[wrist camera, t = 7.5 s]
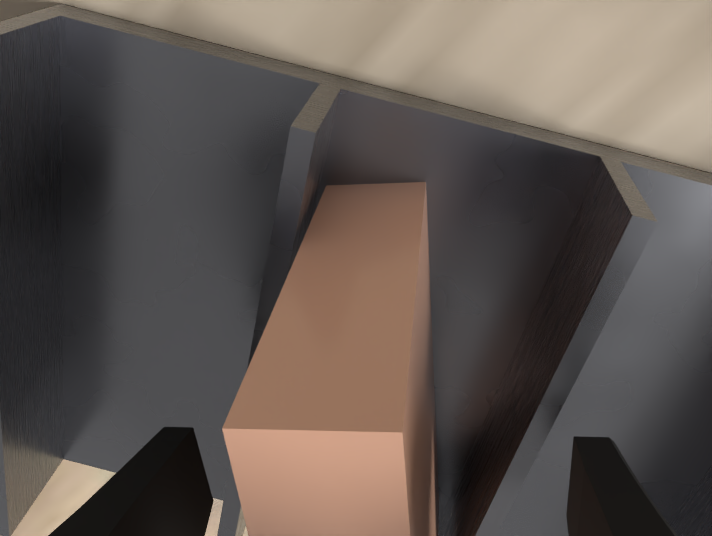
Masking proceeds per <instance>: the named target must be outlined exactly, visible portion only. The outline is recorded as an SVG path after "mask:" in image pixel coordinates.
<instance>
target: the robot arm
mask: <svg viewBox="0 0 712 536" xmlns="http://www.w3.org/2000/svg"><path fill="white" fill-rule="evenodd" d="M212 504H213V497H212V494H211V490H210V486H209V483H208V479H207V476H206V472H205V468H204V465H203V461H202V457H201V454H200V450H199V446H198V443H197V439H196V435H195V432H194V428H193V427H163V428H162V429H161V430H160V431H159V432H158V433H157V434H156V435H155V436H154V437H153V438H152V439H151V440H150V441H149V442H148V443H147V444H146V445H145V446H144V447H143V448H142V449H141V450H139V451H138V452H137V453H136V454H135V455H134V456H133V457H132V458H131V459H130V460H129V461H128V462H127V463H126V464H125V465H124V466H123V467H122V468H121V469H120V470H119V471H118V472H117V473H116V474H115V475H114V476H113V477H112V478H111V479H110V480H109V481H108V482H107V483H106V484H105V485H104V486H102V487H101V488H100V489H99V490H98V491H97V492H96V493H95V494H94V495H93V496H92V497H91V498H90V499H89V500H88V501H87V502H86V503H85V504H83V505H82V506H81V507H80V508H79V509H78V510H77V511H76V512H75V513H73V514H72V515H71V516H70V517H69V518H68V519H67V520H66V521H64V522H63V523H62V524H61V525H60V526H59V527H58V528H56V529H55V530H54V531H53V532H52V533H51V534H50V535H48V536H204V535H205V532H206V528H207V524H208V520H209V516H210V512H211V508H212ZM566 518H567V526H568V534H569V536H677V534H676V533H675V532H674V530H673V529H672V528H671V526H670V525H669V524H668V522H667V521H666V519H665V518H664V517H663V515H662V514H661V513H660V511H659V510H658V508H657V507H656V506H655V504H654V503H653V501H652V500H651V499H650V497H649V496H648V494H647V493H646V491H645V490H644V488H643V487H642V485H641V484H640V482H639V481H638V479H637V478H636V476H635V475H634V473H633V472H632V470H631V468H630V467H629V465H628V464H627V462H626V460H625V459H624V457H623V455H622V454H621V452H620V450H619V449H618V447H617V445H616V444H615V442H614V441H613V440H612V439H611V438H609V437H580V436H574V437H573V448H572V459H571V469H570V480H569V491H568V501H567V512H566Z"/></svg>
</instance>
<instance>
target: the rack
mask: <svg viewBox="0 0 712 536" xmlns="http://www.w3.org/2000/svg"><path fill="white" fill-rule="evenodd" d="M409 182H426V194H427V219H428V243H429V267H430V292H431V316H432V340H433V365H434V389H435V414H436V438H437V462H438V487H439V530H438V536H569V534H568V526H567V518H566V512H567V501H568V491H569V480H570V469H571V459H572V448H573V437H574V436H580V437H609V438H611V439H612V440H613V441H614V442H615V444H616V445H617V447H618V449H619V450H620V452H621V454H622V455H623V457H624V459H625V460H626V462H627V464H628V465H629V467H630V468H631V470H632V472H633V473H634V475H635V476H636V478H637V479H638V481H639V482H640V484H641V485H642V487H643V488H644V490H645V491H646V493H647V494H648V496H649V497H650V499H651V500H652V501H653V503H654V504H655V506H656V507H657V508H658V510H659V511H660V513H661V514H662V515H663V517H664V518H665V519H666V521H667V522H668V524H669V525H670V526H671V528H672V529H673V530H674V532H675V533H676V534H677V536H712V173H708V172H704V171H700V170H697V169H693V168H689V167H685V166H681V165H677V164H674V163H670V162H666V161H662V160H658V159H654V158H651V157H647V156H643V155H639V154H635V153H631V152H628V151H624V150H620V149H616V148H612V147H608V146H605V145H601V144H597V143H593V142H589V141H585V140H582V139H578V138H574V137H570V136H566V135H562V134H559V133H555V132H551V131H547V130H543V129H539V128H536V127H532V126H528V125H524V124H520V123H516V122H513V121H509V120H505V119H501V118H497V117H493V116H490V115H486V114H482V113H478V112H474V111H470V110H467V109H463V108H459V107H455V106H451V105H447V104H444V103H440V102H436V101H432V100H428V99H424V98H421V97H417V96H413V95H409V94H405V93H402V92H398V91H394V90H390V89H386V88H382V87H379V86H375V85H371V84H367V83H363V82H359V81H356V80H352V79H348V78H344V77H340V76H336V75H333V74H329V73H325V72H321V71H317V70H313V69H310V68H306V67H302V66H298V65H294V64H290V63H287V62H283V61H279V60H275V59H271V58H267V57H264V56H260V55H256V54H252V53H248V52H244V51H241V50H237V49H233V48H229V47H225V46H221V45H218V44H214V43H210V42H206V41H202V40H198V39H195V38H191V37H187V36H183V35H179V34H175V33H172V32H168V31H164V30H160V29H156V28H152V27H149V26H145V25H141V24H137V23H133V22H129V21H126V20H122V19H118V18H114V17H110V16H106V15H103V14H99V13H95V12H91V11H87V10H83V9H80V8H76V7H72V6H68V5H64V4H58V5H55V6H51V7H48V8H44V9H41V10H38V11H34V12H31V13H27V14H24V15H21V16H17V17H14V18H10V19H7V20H3V21H0V535H1V536H11V535H12V533H13V532H14V530H15V529H16V527H17V526H18V524H19V523H20V522H21V520H22V519H23V517H24V516H25V514H26V513H27V511H28V510H29V508H30V507H31V505H32V504H33V503H34V501H35V500H36V498H37V497H38V495H39V494H40V492H41V491H42V489H43V488H44V486H45V485H46V484H47V482H48V481H49V479H50V478H51V476H52V475H53V473H54V472H55V470H56V469H57V467H58V466H59V465H60V463H61V462H62V460H63V459H66V460H69V461H73V462H77V463H81V464H85V465H89V466H92V467H96V468H100V469H104V470H108V471H112V472H116V473H117V472H118V471H119V470H120V469H121V468H122V467H123V466H124V465H125V464H126V463H127V462H128V461H129V460H130V459H131V458H132V457H133V456H134V455H135V454H136V453H137V452H138V451H139V450H141V449H142V448H143V447H144V446H145V445H146V444H147V443H148V442H149V441H150V440H151V439H152V438H153V437H154V436H155V435H156V434H157V433H158V432H159V431H160V430H161V429H162V428H163V427H193V428H194V432H195V435H196V439H197V443H198V446H199V450H200V454H201V457H202V461H203V465H204V468H205V472H206V476H207V479H208V483H209V486H210V490H211V494H212V497H213V498H216V499H220V500H223V507H222V513H221V518H220V524H219V529H218V535H217V536H243V533H244V529H245V526H246V523H245V519H244V515H243V511H242V507H241V503H240V499H239V495H238V491H237V487H236V483H235V479H234V475H233V471H232V467H231V463H230V459H229V455H228V450H227V446H226V442H225V438H224V434H223V430H222V428H223V425H224V423H225V421H226V418H227V416H228V414H229V411H230V409H231V407H232V404H233V402H234V400H235V397H236V395H237V393H238V390H239V388H240V386H241V383H242V381H243V379H244V376H245V374H246V372H247V369H248V367H249V365H250V362H251V360H252V358H253V355H254V353H255V351H256V348H257V346H258V344H259V341H260V339H261V337H262V334H263V332H264V330H265V327H266V325H267V323H268V320H269V318H270V316H271V313H272V311H273V309H274V306H275V304H276V302H277V299H278V297H279V295H280V292H281V290H282V288H283V285H284V283H285V281H286V278H287V276H288V274H289V271H290V269H291V267H292V264H293V262H294V260H295V257H296V255H297V253H298V250H299V248H300V246H301V243H302V241H303V239H304V236H305V234H306V232H307V229H308V227H309V225H310V222H311V220H312V218H313V215H314V213H315V211H316V208H317V206H318V204H319V201H320V199H321V197H322V194H323V192H324V190H325V187H326V185H353V184H381V183H409Z"/></svg>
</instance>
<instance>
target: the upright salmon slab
mask: <svg viewBox="0 0 712 536" xmlns="http://www.w3.org/2000/svg"><path fill="white" fill-rule="evenodd" d="M222 430H223V434H224V438H225V442H226V446H227V450H228V455H229V459H230V463H231V467H232V471H233V475H234V479H235V483H236V487H237V491H238V495H239V499H240V503H241V507H242V511H243V515H244V519H245V523H246V527H247V531H248V535H249V536H438V530H439V487H438V462H437V438H436V414H435V389H434V365H433V340H432V316H431V292H430V267H429V243H428V219H427V194H426V182H409V183H381V184H353V185H326V187H325V190H324V192H323V194H322V197H321V199H320V201H319V204H318V206H317V208H316V211H315V213H314V215H313V218H312V220H311V222H310V225H309V227H308V229H307V232H306V234H305V236H304V239H303V241H302V243H301V246H300V248H299V250H298V253H297V255H296V257H295V260H294V262H293V264H292V267H291V269H290V271H289V274H288V276H287V278H286V281H285V283H284V285H283V288H282V290H281V292H280V295H279V297H278V299H277V302H276V304H275V306H274V309H273V311H272V313H271V316H270V318H269V320H268V323H267V325H266V327H265V330H264V332H263V334H262V337H261V339H260V341H259V344H258V346H257V348H256V351H255V353H254V355H253V358H252V360H251V362H250V365H249V367H248V369H247V372H246V374H245V376H244V379H243V381H242V383H241V386H240V388H239V390H238V393H237V395H236V397H235V400H234V402H233V404H232V407H231V409H230V411H229V414H228V416H227V418H226V421H225V423H224V425H223V428H222Z"/></svg>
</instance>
